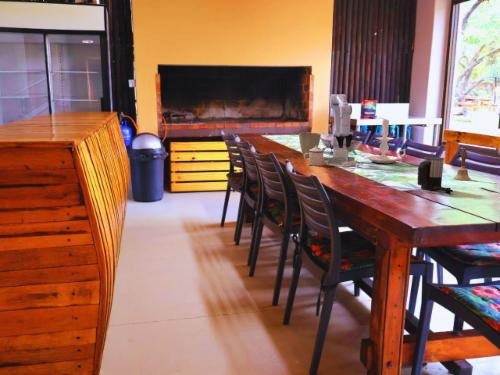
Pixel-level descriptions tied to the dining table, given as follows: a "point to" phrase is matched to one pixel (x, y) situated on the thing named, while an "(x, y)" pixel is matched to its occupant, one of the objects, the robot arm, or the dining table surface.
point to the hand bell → (462, 169)
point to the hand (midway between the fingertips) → (344, 147)
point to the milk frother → (431, 174)
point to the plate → (342, 154)
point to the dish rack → (341, 161)
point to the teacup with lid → (315, 156)
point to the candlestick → (385, 147)
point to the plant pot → (308, 142)
